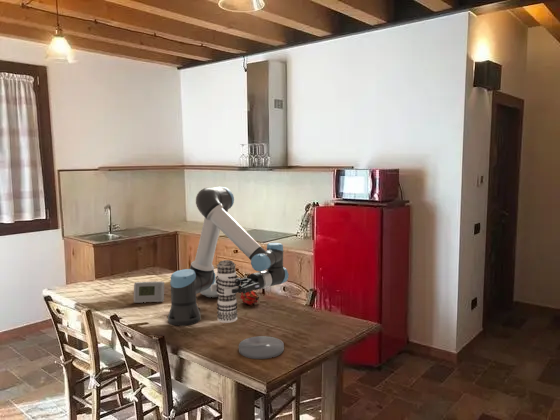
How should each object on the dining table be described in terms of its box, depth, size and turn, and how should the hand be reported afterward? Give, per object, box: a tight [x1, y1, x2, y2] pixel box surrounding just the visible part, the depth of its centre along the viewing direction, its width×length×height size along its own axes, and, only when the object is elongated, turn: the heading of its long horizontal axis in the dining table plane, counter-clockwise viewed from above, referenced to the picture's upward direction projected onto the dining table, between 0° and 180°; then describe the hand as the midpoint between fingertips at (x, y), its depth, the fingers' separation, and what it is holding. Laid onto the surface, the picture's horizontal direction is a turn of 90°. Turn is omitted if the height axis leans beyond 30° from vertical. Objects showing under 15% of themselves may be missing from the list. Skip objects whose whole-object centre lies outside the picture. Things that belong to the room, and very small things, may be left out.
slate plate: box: [238, 335, 285, 360], centre depth 182 cm, size 18×18×2 cm
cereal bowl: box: [200, 279, 218, 298], centre depth 257 cm, size 17×17×7 cm
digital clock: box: [133, 281, 165, 304], centre depth 247 cm, size 16×9×11 cm, turn 84°
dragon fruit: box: [239, 290, 260, 306], centre depth 241 cm, size 8×8×12 cm
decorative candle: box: [215, 259, 239, 324], centre depth 192 cm, size 9×9×25 cm
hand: (218, 290), depth 189 cm, fingers closed on decorative candle, 8 cm apart
